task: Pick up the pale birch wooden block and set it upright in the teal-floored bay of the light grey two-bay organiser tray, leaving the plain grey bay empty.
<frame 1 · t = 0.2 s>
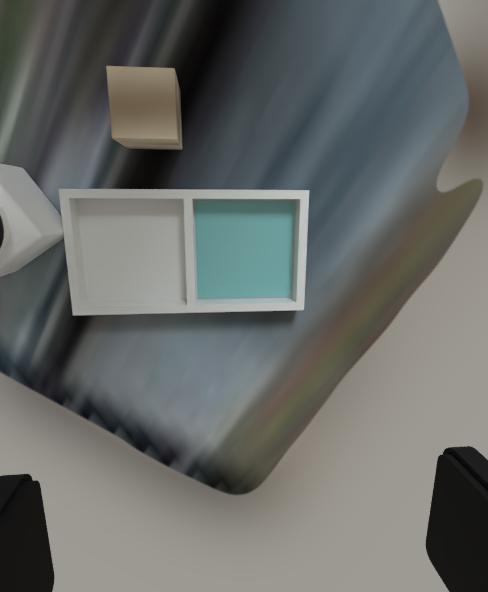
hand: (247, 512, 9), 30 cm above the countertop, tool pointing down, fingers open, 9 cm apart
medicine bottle: (20, 220, 35), on the countertop
organiser tray: (190, 250, 37), on the countertop
wooden block: (153, 120, 34), on the countertop
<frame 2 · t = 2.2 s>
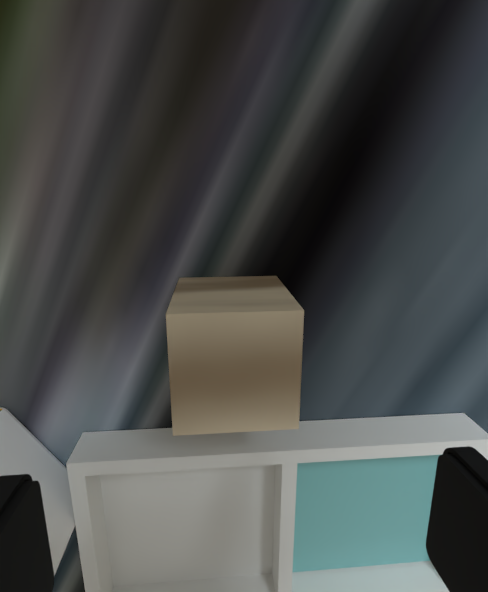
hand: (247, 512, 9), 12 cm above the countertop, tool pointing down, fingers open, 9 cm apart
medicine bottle: (2, 477, 21), on the countertop
organiser tray: (278, 503, 23), on the countertop
wooden block: (228, 322, 20), on the countertop
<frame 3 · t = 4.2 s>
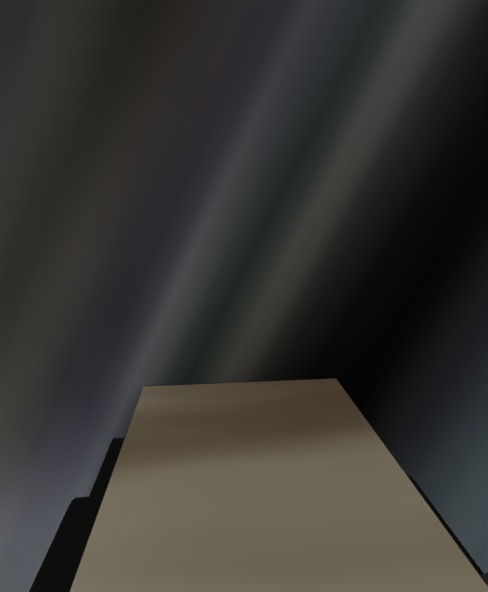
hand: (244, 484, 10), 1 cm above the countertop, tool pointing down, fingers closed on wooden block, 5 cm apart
wooden block: (242, 465, 10), on the countertop, touching gripper
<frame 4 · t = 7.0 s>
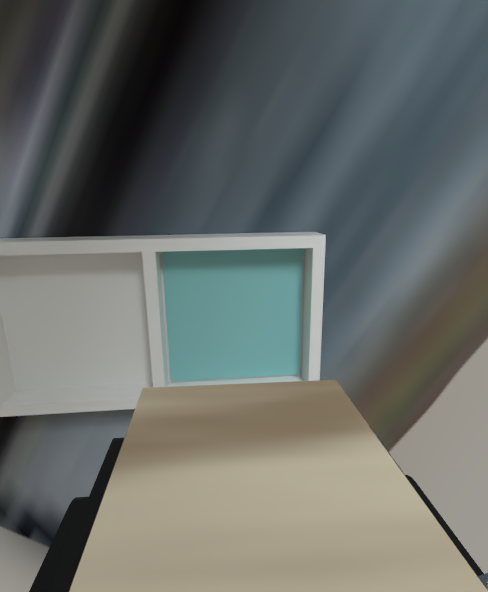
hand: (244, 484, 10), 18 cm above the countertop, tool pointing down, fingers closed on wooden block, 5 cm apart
organiser tray: (159, 316, 27), on the countertop
wooden block: (241, 466, 10), point 17 cm above the countertop, touching gripper
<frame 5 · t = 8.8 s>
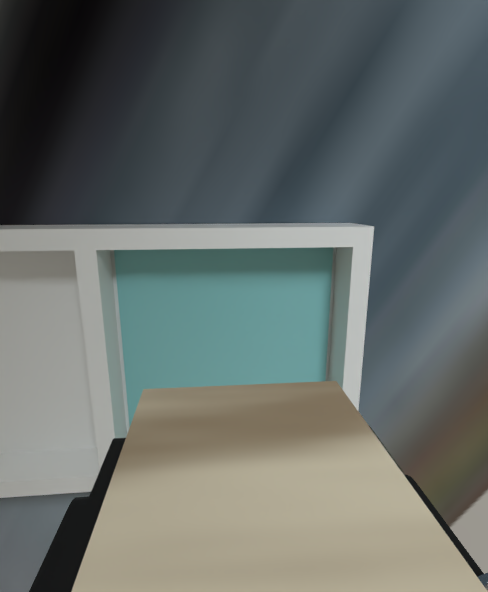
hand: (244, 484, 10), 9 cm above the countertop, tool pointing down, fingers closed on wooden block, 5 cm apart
organiser tray: (113, 348, 18), on the countertop
wooden block: (242, 467, 10), point 8 cm above the countertop, touching gripper
when the fingers open (3 cm above the countertop, at t = 10.3 s): wooden block drops 2 cm, resting on organiser tray.
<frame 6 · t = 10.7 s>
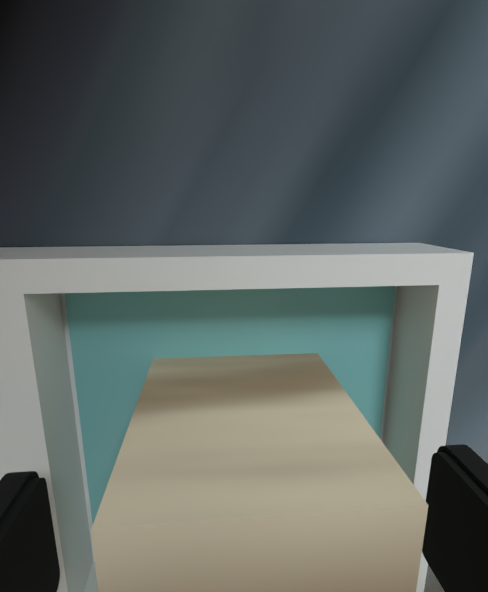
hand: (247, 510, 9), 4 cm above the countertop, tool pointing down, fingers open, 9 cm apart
organiser tray: (70, 425, 12), on the countertop
wooden block: (237, 428, 12), point 1 cm above the countertop, touching organiser tray
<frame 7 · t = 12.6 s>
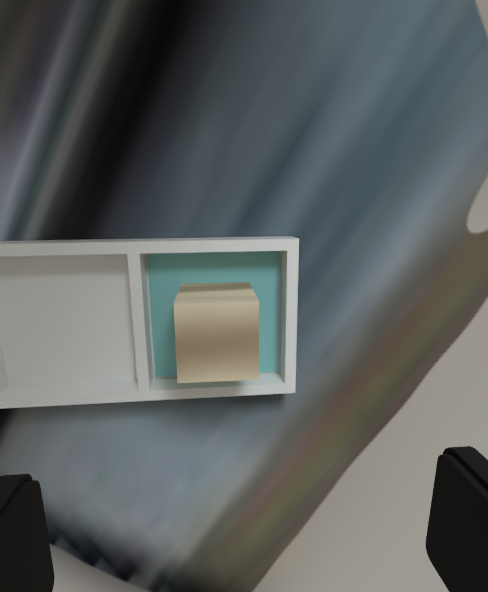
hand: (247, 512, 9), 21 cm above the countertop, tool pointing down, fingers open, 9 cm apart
organiser tray: (145, 315, 28), on the countertop
wooden block: (216, 315, 28), point 1 cm above the countertop, touching organiser tray
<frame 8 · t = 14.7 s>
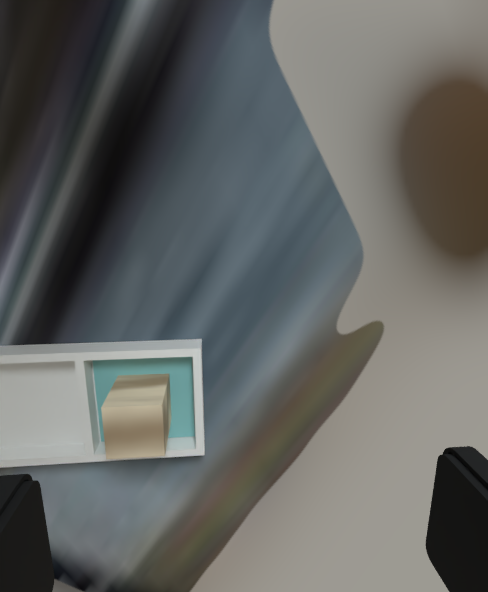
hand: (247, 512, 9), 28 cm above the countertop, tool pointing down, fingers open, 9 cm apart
organiser tray: (92, 396, 38), on the countertop
wooden block: (145, 397, 38), point 1 cm above the countertop, touching organiser tray
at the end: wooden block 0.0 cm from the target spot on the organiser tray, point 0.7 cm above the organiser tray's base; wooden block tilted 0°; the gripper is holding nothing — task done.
